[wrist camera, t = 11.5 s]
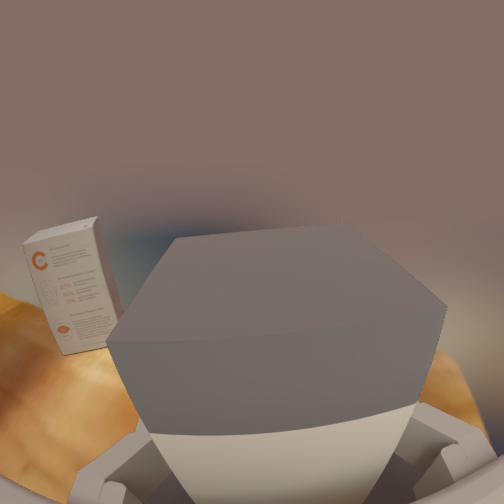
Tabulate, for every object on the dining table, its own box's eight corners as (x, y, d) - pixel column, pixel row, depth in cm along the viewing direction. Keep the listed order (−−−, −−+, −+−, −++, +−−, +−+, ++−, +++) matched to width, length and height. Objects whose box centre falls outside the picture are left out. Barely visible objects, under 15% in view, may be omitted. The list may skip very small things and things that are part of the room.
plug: (231, 546, 7) (105, 341, 3) (232, 469, 12) (175, 238, 8) (339, 535, 7) (447, 306, 3) (323, 460, 12) (346, 223, 8)
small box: (125, 316, 34) (100, 214, 30) (126, 344, 28) (93, 225, 24) (68, 328, 31) (37, 229, 27) (61, 357, 25) (20, 243, 21)
